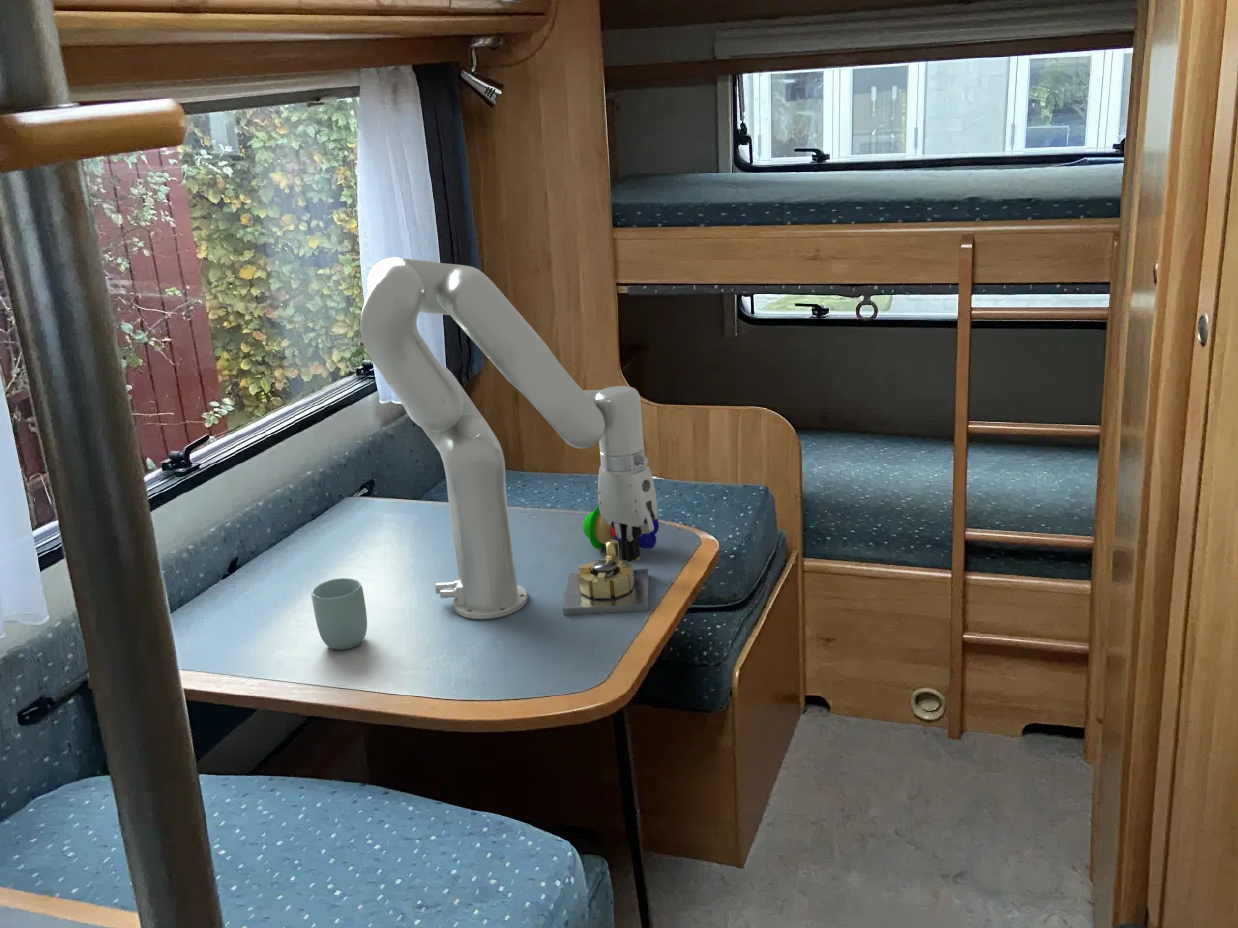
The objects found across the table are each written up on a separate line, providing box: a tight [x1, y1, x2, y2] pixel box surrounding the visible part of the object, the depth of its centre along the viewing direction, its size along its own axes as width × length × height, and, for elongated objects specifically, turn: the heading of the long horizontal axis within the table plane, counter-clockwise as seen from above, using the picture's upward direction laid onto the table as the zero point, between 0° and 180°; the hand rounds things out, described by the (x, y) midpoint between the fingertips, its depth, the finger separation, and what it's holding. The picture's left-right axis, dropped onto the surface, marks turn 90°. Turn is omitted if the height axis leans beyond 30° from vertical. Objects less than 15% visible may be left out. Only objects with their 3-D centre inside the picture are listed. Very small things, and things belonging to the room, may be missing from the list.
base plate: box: [562, 559, 650, 616], centre depth 191 cm, size 14×15×6 cm
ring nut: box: [577, 540, 634, 598], centre depth 192 cm, size 13×9×5 cm
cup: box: [310, 577, 368, 651], centre depth 180 cm, size 8×8×10 cm
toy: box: [582, 505, 660, 562], centre depth 208 cm, size 12×9×15 cm
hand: (631, 558), depth 196 cm, fingers closed
